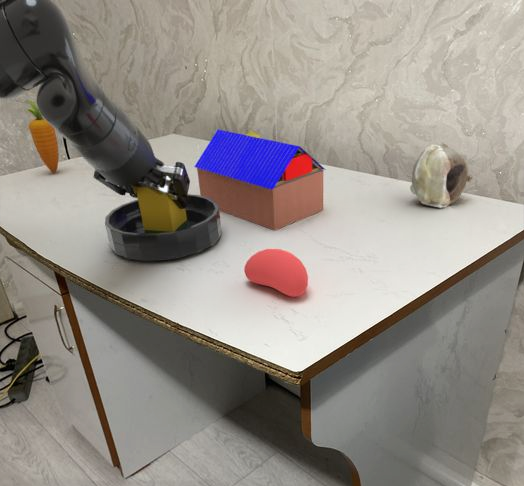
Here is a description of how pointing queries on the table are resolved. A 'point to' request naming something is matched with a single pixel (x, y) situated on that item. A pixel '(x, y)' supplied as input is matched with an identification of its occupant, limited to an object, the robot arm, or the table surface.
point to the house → (260, 179)
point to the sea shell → (439, 176)
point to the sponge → (160, 212)
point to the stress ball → (278, 271)
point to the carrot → (44, 139)
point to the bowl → (167, 243)
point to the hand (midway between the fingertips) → (167, 202)
